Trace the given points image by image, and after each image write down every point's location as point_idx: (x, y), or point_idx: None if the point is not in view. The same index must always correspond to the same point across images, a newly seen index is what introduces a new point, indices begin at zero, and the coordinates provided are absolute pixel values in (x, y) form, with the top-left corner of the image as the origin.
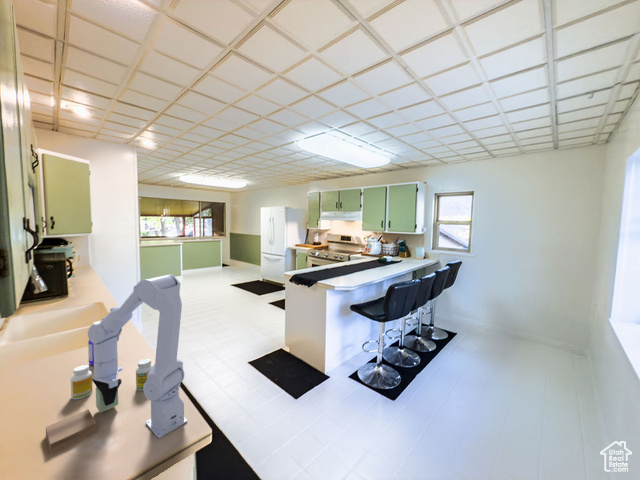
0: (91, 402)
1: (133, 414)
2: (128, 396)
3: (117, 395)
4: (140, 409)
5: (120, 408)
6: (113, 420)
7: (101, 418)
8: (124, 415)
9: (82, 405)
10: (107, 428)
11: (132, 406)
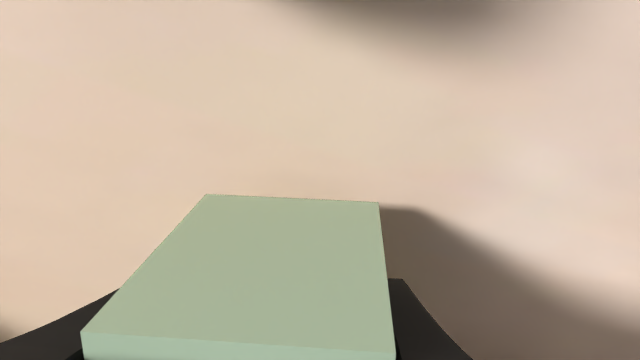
0: (36, 296)
1: (631, 122)
2: (206, 29)
3: (385, 266)
4: (616, 36)
5: (383, 168)
6: (531, 272)
7: None
8: (552, 185)
9: None
10: (602, 336)
11: (465, 74)
